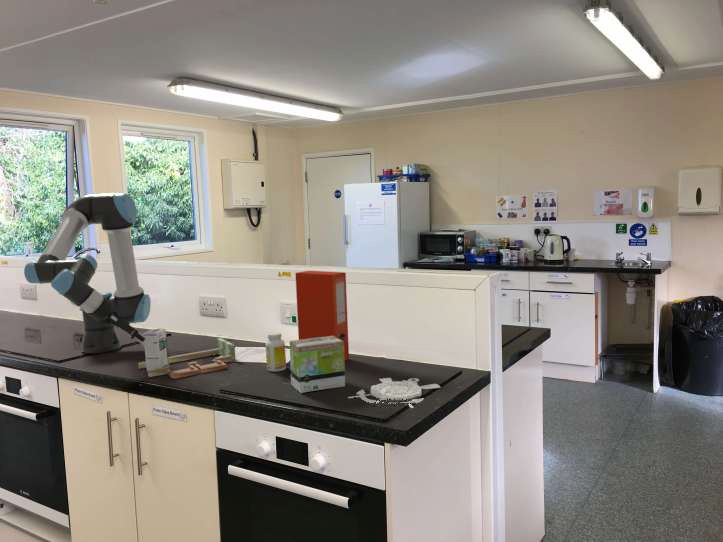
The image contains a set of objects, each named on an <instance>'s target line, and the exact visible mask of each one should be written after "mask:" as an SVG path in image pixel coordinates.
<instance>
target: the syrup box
mask: <svg viewBox="0 0 723 542" xmlns="http://www.w3.org/2000/svg"><path fill="white" fill-rule="evenodd" d="M142 334H143V335H144V336H146V337H147V338H148V339H150V340H151V341H152V342H154V343H153V344H152V345H151V346H150V348H149V349H148V348H147V347H145V346H144V345H143V347H144V355H145V361H146V366H147V368H146V372H147V373H148V371H149V370H154V369H159V368H165V367H169V368H170V363H169V359H168V357H169V352H168V351H169V350H168V341H167V340H168V339H167V332H166V329H165V328H151V329H149V330H147V331H146V332H143V333H142Z"/></svg>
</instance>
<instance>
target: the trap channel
mask: <svg viewBox="0 0 723 542" xmlns="http://www.w3.org/2000/svg"><path fill="white" fill-rule="evenodd" d="M235 346H236V345H235V344H234V343H232V342H229V341H228V340H225V339H224V338H222V337H218V338H216V348H213V349H208V350H207V349H205V350H200V351H195V352H191V353H185V354H178V355H173V356H172V355H171V356H168V359H169V364H173V363H178V362H184V361H189V360H196V359H200V358H205V357H211V355H212V356H215V355H216V354H217V355H219V357H214V363H208V364H203V365H200V364H198V362H197V361H192V362H191V361H190V362H188V363H187V368H182V369H177V370H171V369H170V366H169V367H165V368H159V369H154V370H149V371H148V372H147V377H148V378H152V377H156V376H157V377H158V376H163V375H168V376H169V377H170V378H172V379H175V380H176V379H181V378H187V377H191V376H194V375H195V376H196V375H199V374H200V373H201V374H206V373H212V372H216V371H221V370H226V369H227V363H230V362H234V361H233V360H235V361H236V347H235ZM221 355H223V356H221ZM229 361H230V362H229ZM224 362H225V363H224ZM137 366H138V367H137V368H138V369H139V370H141V368H142V369H147V366H146V360H145V361H139V362H138V363H137Z"/></svg>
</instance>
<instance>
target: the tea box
mask: <svg viewBox="0 0 723 542" xmlns="http://www.w3.org/2000/svg"><path fill="white" fill-rule="evenodd" d="M289 359H290V360H289V363H290V365H289V366H290V367H289V368H290V385H291V386H292V387H293V388H294V389H295V390H296V391H297V390H298V391H299V392H300V393H299V392H298V391H297V392H298V393H299V394H303V393H307V392H314V391H321V390H326V389H327V390H328V389H337V388H343V387H346V365H345V363H346V360H345V356H344V342H343V341H342V340H340V339H338V338H336V337H335V336H327V337H318V338H310V339H302V340H299V339H296V340H290V341H289Z"/></svg>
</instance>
